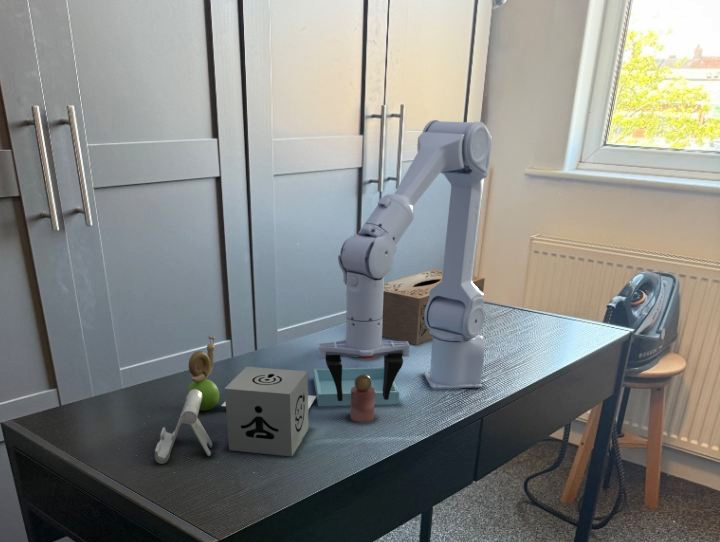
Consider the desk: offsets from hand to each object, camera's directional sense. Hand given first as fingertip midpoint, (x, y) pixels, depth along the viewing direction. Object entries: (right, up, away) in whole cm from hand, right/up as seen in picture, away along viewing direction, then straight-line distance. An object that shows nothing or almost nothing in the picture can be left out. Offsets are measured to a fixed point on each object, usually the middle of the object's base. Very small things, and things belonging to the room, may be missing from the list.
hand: (362, 398), depth 120 cm
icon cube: (-15, -8, -6) cm, 18 cm away
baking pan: (-1, +3, +12) cm, 13 cm away
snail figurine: (-27, -1, +5) cm, 28 cm away
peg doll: (0, -3, +2) cm, 4 cm away
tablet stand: (-28, -10, -9) cm, 31 cm away
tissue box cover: (+16, +25, +50) cm, 58 cm away
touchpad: (-16, -1, +6) cm, 17 cm away
